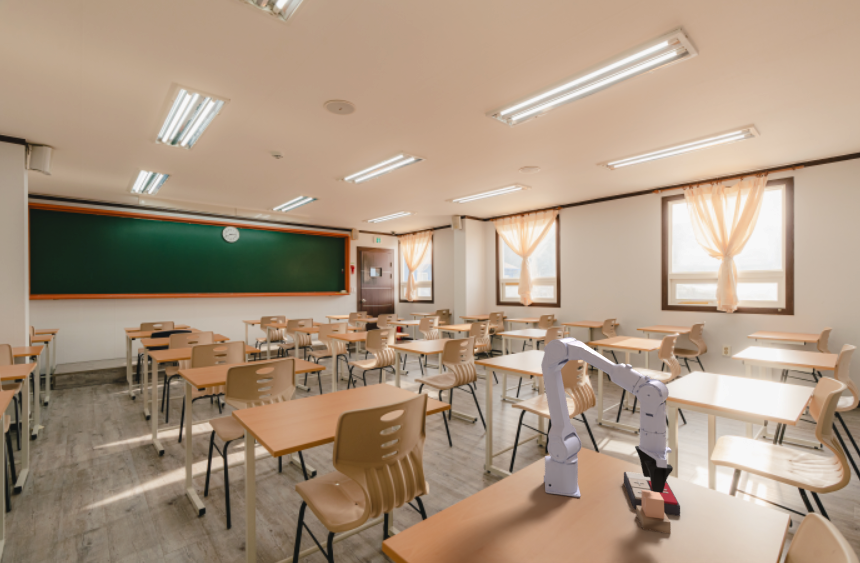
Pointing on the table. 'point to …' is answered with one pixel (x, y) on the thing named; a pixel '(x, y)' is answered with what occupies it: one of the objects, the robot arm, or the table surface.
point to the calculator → (639, 483)
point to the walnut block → (653, 522)
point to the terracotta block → (652, 504)
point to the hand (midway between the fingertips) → (652, 483)
